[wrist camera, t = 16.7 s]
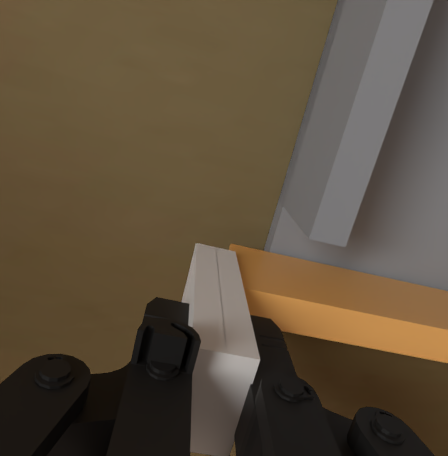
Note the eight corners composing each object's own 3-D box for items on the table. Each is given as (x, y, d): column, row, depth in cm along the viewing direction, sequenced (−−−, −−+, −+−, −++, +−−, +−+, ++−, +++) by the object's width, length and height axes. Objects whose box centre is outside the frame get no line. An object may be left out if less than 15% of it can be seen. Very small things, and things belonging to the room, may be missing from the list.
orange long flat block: (223, 270, 17) (230, 321, 13) (230, 243, 16) (240, 287, 12) (482, 324, 18) (558, 384, 14) (494, 301, 18) (575, 356, 14)
